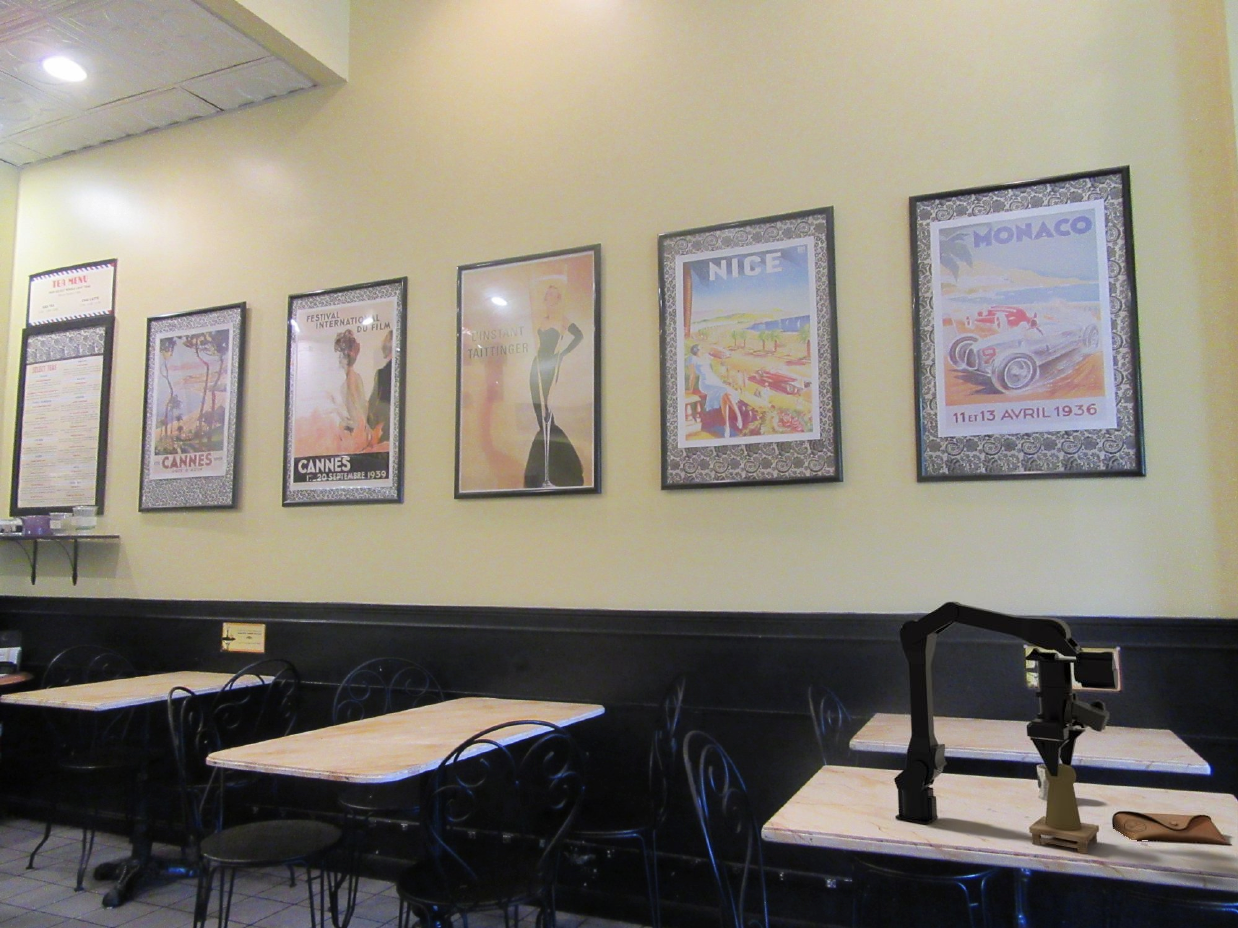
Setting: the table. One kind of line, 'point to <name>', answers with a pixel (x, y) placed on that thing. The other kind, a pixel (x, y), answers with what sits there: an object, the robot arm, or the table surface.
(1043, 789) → the mug
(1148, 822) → the sunglasses case
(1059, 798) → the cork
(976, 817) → the table surface
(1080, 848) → the footstool
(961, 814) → the table surface
